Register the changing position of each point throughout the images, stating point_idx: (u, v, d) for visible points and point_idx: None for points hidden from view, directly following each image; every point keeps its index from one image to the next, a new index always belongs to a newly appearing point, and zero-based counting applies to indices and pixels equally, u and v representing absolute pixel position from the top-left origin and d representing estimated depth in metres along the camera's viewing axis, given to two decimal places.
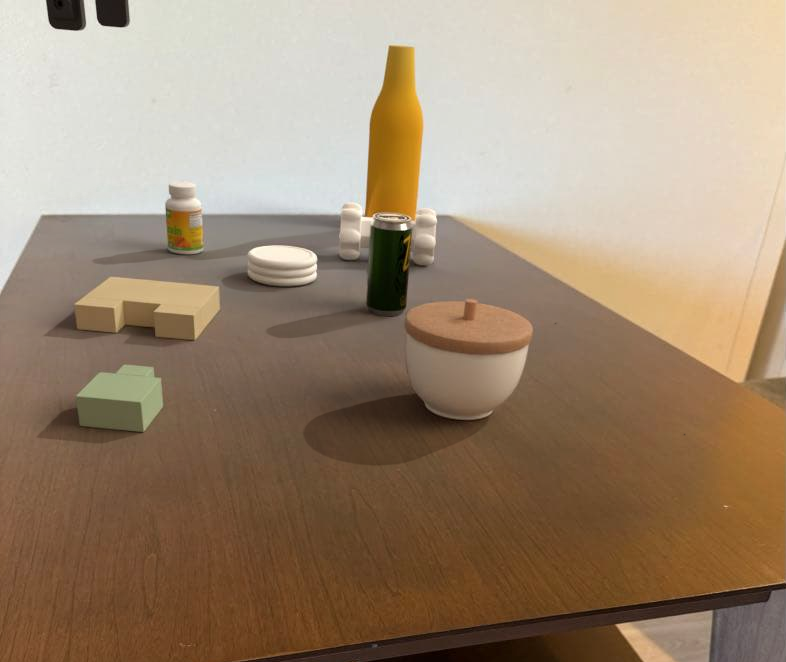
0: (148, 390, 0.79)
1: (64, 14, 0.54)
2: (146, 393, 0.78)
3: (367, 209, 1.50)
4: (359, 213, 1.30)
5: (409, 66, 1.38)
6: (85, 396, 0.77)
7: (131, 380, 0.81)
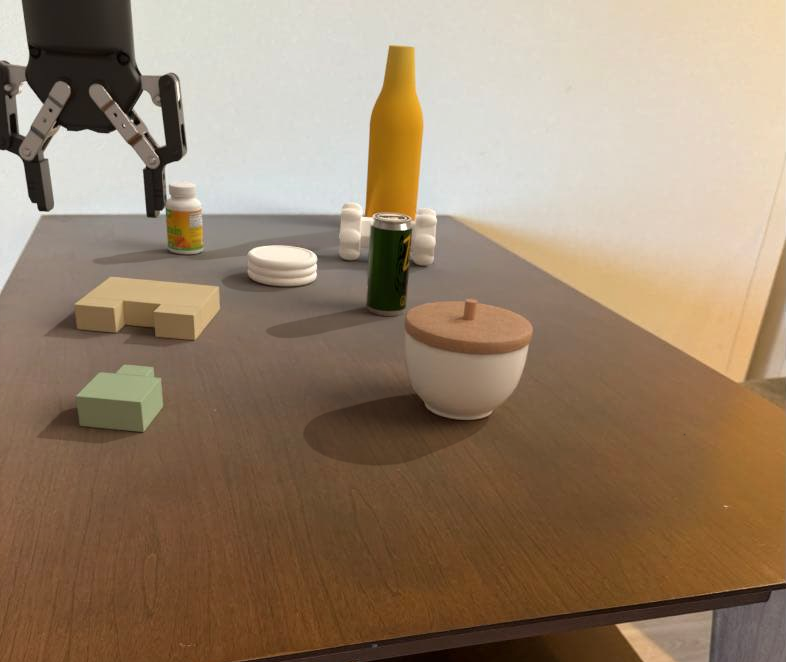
0: (148, 390, 0.79)
1: None
2: (146, 393, 0.78)
3: (367, 209, 1.50)
4: (359, 213, 1.30)
5: (409, 66, 1.38)
6: (85, 396, 0.77)
7: (131, 380, 0.81)
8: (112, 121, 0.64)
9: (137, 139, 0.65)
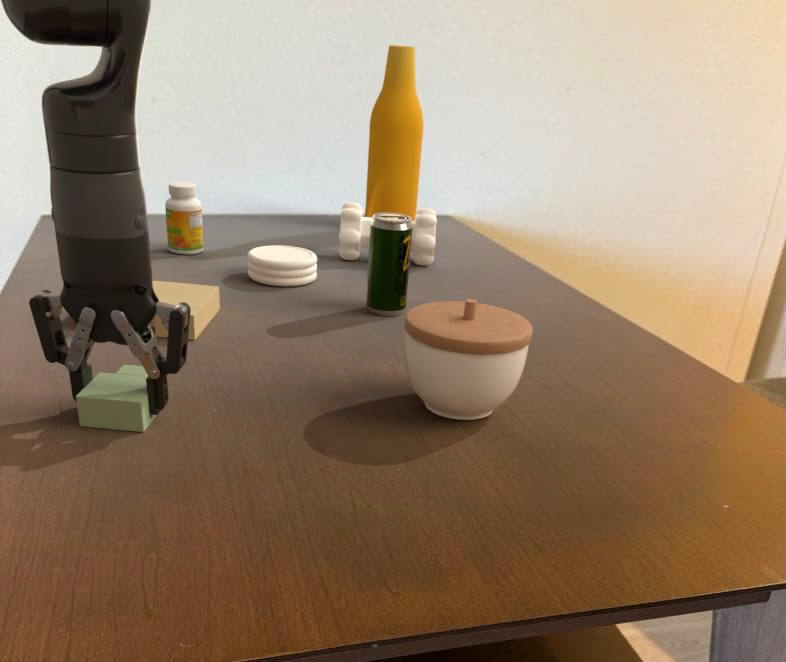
0: None
1: None
2: (146, 393, 0.78)
3: (367, 209, 1.50)
4: (359, 213, 1.30)
5: (409, 66, 1.38)
6: (85, 396, 0.77)
7: (131, 380, 0.81)
8: (125, 339, 0.75)
9: (144, 355, 0.76)
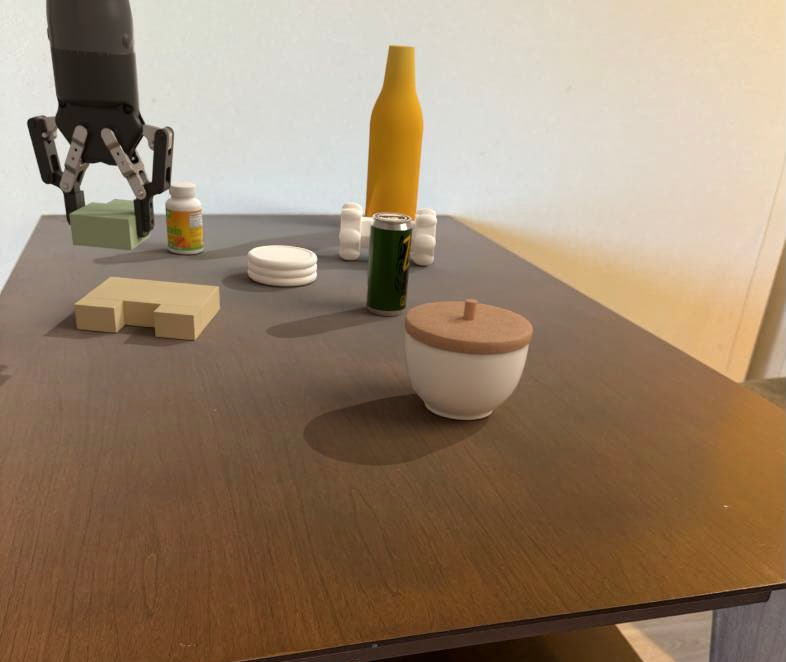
0: None
1: None
2: (134, 214, 0.85)
3: (367, 209, 1.50)
4: (359, 213, 1.30)
5: (409, 66, 1.38)
6: (78, 214, 0.84)
7: (121, 207, 0.88)
8: (114, 158, 0.82)
9: (131, 175, 0.83)
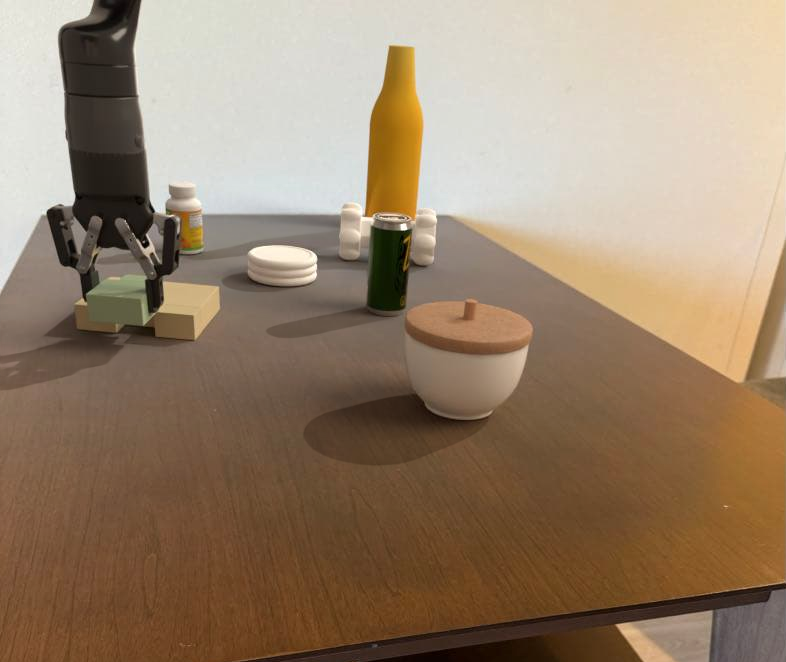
0: None
1: None
2: (145, 293, 0.92)
3: (367, 209, 1.50)
4: (359, 213, 1.30)
5: (409, 66, 1.38)
6: (94, 294, 0.91)
7: (132, 284, 0.95)
8: (127, 243, 0.89)
9: (143, 258, 0.90)
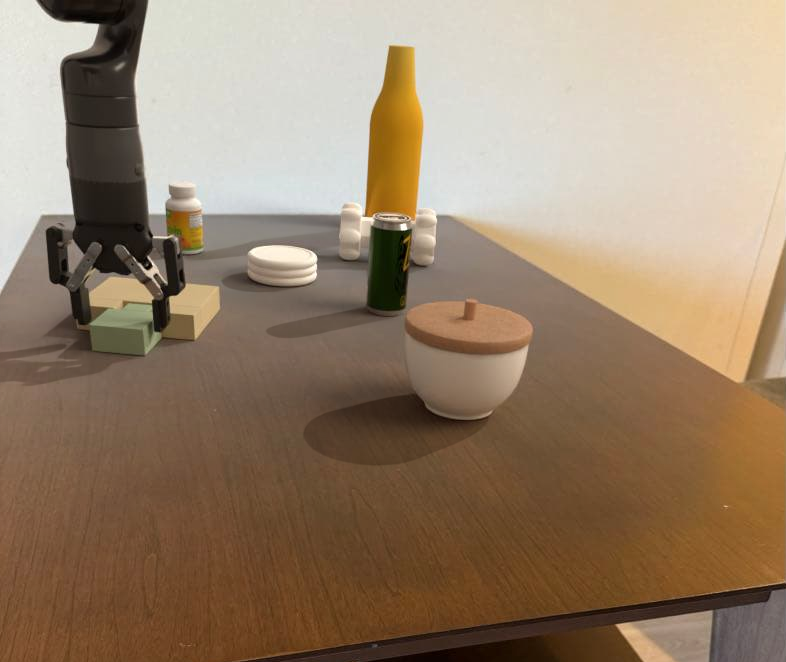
0: (149, 321, 0.95)
1: None
2: (147, 323, 0.94)
3: (367, 209, 1.50)
4: (359, 213, 1.30)
5: (409, 66, 1.38)
6: (97, 325, 0.93)
7: (135, 314, 0.97)
8: (130, 268, 0.90)
9: (147, 280, 0.91)
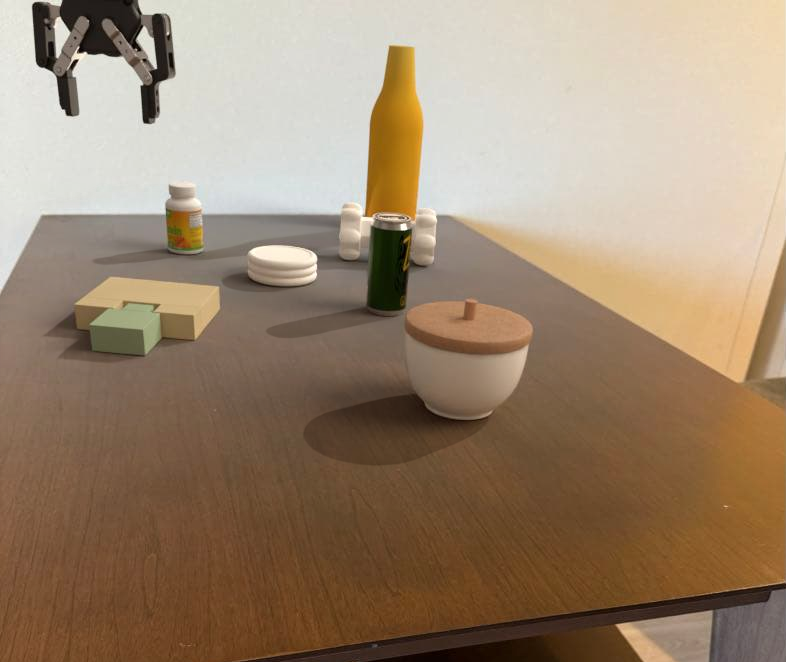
0: (149, 321, 0.95)
1: None
2: (147, 323, 0.94)
3: (367, 209, 1.50)
4: (359, 213, 1.30)
5: (409, 66, 1.38)
6: (97, 325, 0.93)
7: (135, 314, 0.97)
8: (118, 47, 0.88)
9: (136, 61, 0.88)
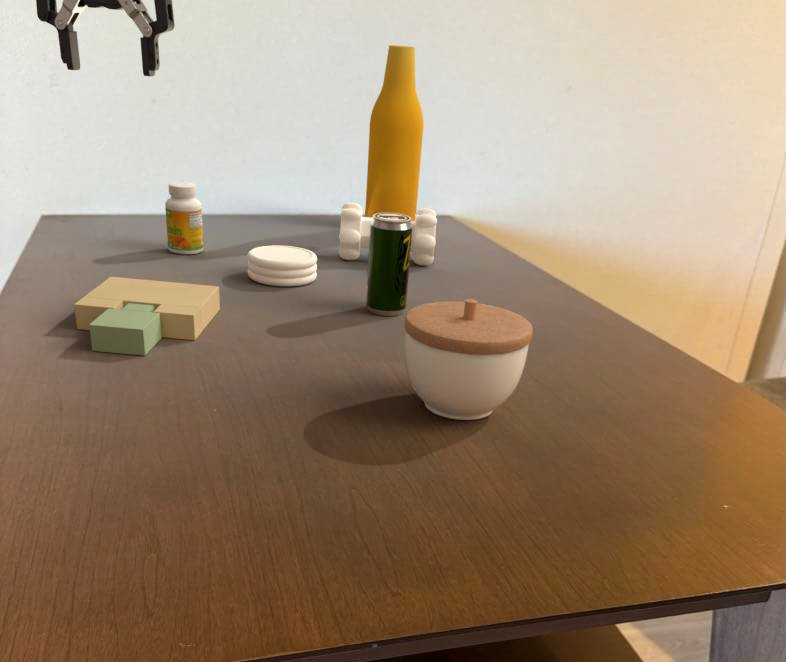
0: (149, 321, 0.95)
1: None
2: (147, 323, 0.94)
3: (367, 209, 1.50)
4: (359, 213, 1.30)
5: (409, 66, 1.38)
6: (97, 325, 0.93)
7: (135, 314, 0.97)
8: None
9: (136, 13, 0.91)
